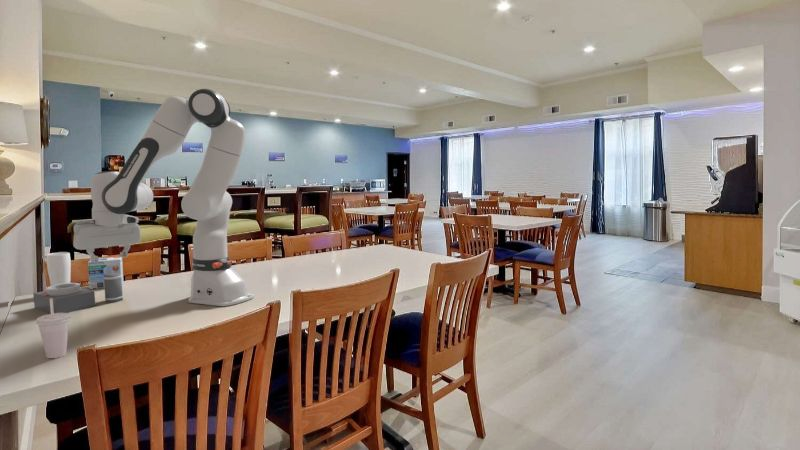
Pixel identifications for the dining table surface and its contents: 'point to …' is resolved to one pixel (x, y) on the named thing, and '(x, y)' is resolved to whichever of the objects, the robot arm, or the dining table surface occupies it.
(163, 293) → the dining table surface
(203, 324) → the dining table surface
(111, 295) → the lens
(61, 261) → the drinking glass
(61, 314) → the smoothie
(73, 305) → the camera body
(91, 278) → the light bulb box
